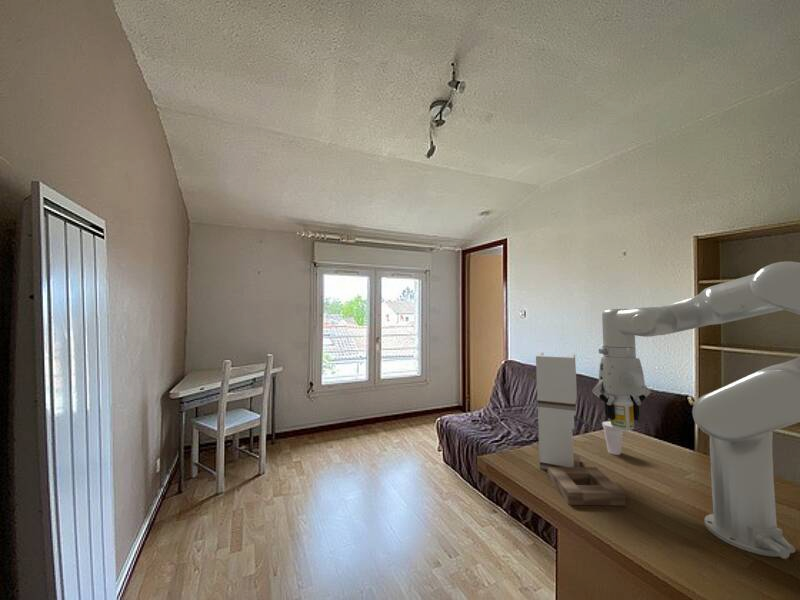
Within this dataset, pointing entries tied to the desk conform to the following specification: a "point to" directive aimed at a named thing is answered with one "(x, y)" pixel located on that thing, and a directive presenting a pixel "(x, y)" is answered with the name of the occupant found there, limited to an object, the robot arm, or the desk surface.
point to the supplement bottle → (623, 413)
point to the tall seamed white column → (556, 410)
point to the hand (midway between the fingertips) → (622, 417)
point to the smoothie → (613, 438)
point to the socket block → (585, 486)
